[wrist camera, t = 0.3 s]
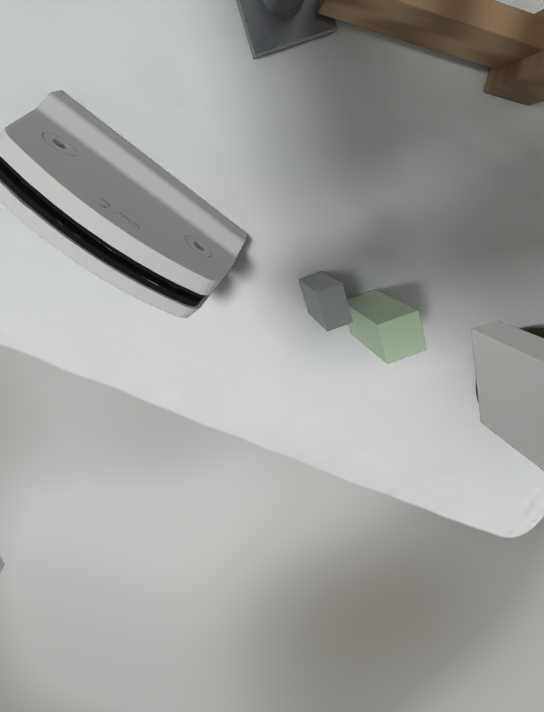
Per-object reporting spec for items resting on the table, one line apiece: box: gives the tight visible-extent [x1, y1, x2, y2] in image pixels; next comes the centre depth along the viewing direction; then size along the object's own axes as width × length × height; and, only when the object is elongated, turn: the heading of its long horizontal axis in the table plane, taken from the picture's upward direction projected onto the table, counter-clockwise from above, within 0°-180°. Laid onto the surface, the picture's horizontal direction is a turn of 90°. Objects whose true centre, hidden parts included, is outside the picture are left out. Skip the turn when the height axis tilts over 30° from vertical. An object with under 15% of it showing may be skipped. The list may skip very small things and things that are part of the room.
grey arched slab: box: [0, 90, 247, 318], centre depth 32 cm, size 17×5×10 cm, turn 52°
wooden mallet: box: [318, 0, 544, 105], centre depth 31 cm, size 18×4×8 cm, turn 78°
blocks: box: [299, 271, 427, 364], centre depth 36 cm, size 6×6×8 cm
